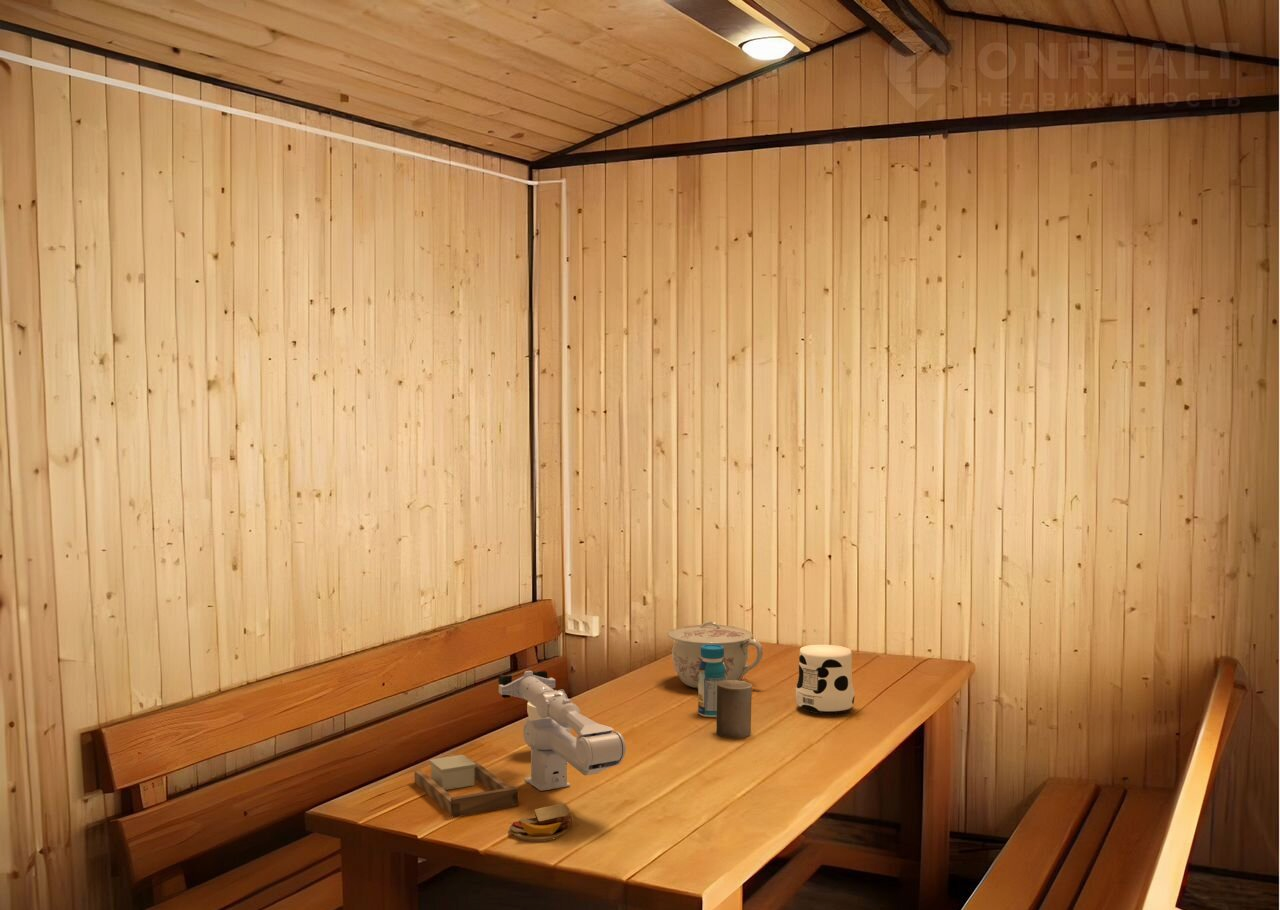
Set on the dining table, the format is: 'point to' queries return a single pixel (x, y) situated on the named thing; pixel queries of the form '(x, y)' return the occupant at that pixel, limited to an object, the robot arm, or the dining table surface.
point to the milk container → (825, 679)
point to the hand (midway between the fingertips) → (513, 676)
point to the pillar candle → (734, 708)
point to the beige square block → (452, 771)
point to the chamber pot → (729, 637)
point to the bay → (471, 803)
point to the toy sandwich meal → (543, 824)
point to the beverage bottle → (710, 678)
